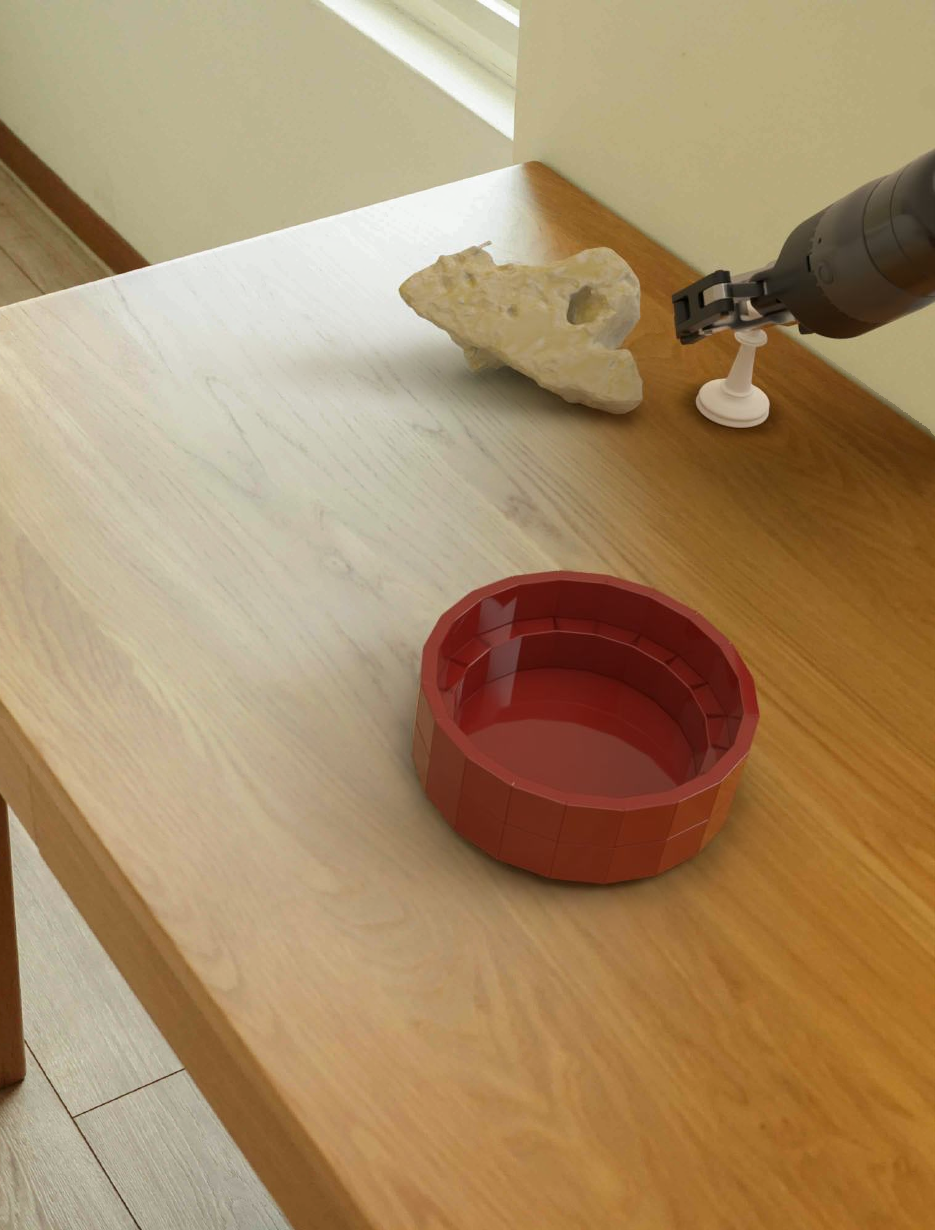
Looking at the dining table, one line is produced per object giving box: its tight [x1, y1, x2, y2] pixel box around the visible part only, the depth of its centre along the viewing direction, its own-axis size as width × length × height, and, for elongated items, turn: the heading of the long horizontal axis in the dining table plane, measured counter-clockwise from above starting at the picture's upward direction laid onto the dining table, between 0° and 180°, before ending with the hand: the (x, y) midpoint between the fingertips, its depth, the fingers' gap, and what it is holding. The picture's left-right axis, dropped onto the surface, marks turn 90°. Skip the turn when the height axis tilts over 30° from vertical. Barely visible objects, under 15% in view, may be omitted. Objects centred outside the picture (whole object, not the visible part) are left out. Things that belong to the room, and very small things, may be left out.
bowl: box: [411, 569, 761, 884], centre depth 78 cm, size 17×17×6 cm
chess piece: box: [695, 301, 770, 429], centre depth 102 cm, size 5×5×10 cm
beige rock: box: [398, 240, 644, 415], centre depth 105 cm, size 15×7×15 cm
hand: (742, 324), depth 102 cm, fingers open, 8 cm apart
